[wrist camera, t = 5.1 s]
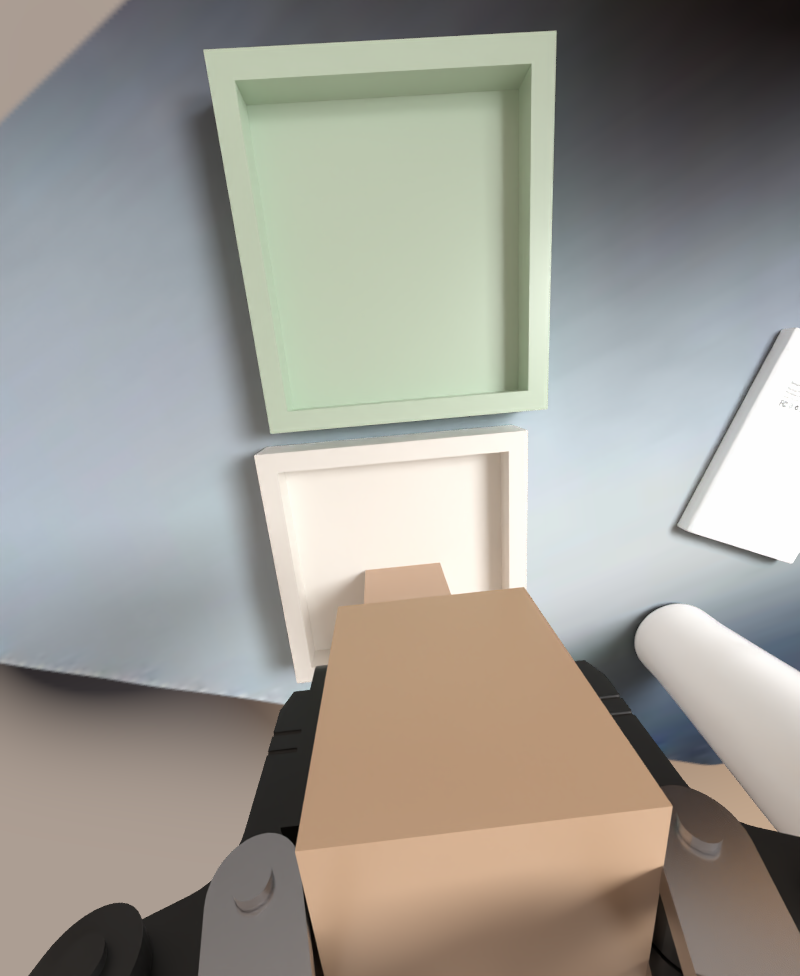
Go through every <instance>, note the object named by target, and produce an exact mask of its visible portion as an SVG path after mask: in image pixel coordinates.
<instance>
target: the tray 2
mask: <svg viewBox="0 0 800 976" xmlns="http://www.w3.org/2000/svg"><path fill="white" fill-rule="evenodd" d="M254 459H255V464H256V469H257V474H258V480H259V485H260V490H261V495H262V501H263V506H264V511H265V517H266V522H267V527H268V532H269V538H270V543H271V548H272V553H273V559H274V564H275V569H276V575H277V580H278V585H279V590H280V596H281V601H282V606H283V611H284V617H285V622H286V627H287V632H288V638H289V643H290V648H291V654H292V659H293V664H294V669H295V675H296V680H297V683H304V682H312V679H313V675H314V670H315V667H316V666H321V665H328V661H329V655H330V650H331V644H332V638H333V633H334V627H335V621H336V616H337V610H338V606H348V605H358V604H364V589H365V570H372V569H381V568H391V567H401V566H411V565H420V564H430V563H440V564H441V567H442V570H443V573H444V576H445V579H446V581H447V584H448V587H449V590H450V593H451V595H453V594H462V593H472V592H481V591H491V590H500V589H510V588H519V587H524V588H525V589H526V576H527V478H528V430H525V429H522V428H520V427H517V426H514V425H503V426H491V427H480V428H469V429H458V430H447V431H436V432H425V433H414V434H403V435H392V436H381V437H370V438H359V439H348V440H337V441H326V442H315V443H304V444H293V445H282V446H271V447H266V448H265V449H263V450H262V451H260V452H259V453H257V454H256V455H254Z"/></svg>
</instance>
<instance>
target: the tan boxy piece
mask: <svg viewBox="0 0 800 976" xmlns="http://www.w3.org/2000/svg"><path fill="white" fill-rule="evenodd" d="M672 808H673V806H672V804H671V803H670V801H669V800H668V798H667V797H666V796H665V794H664V793H663V791H662V790H661V788H660V787H659V785H658V784H657V782H656V781H655V779H654V778H653V776H652V775H651V773H650V772H649V770H648V769H647V768H646V766H645V765H644V763H643V762H642V760H641V759H640V757H639V756H638V754H637V753H636V751H635V750H634V748H633V747H632V745H631V744H630V743H629V741H628V740H627V738H626V737H625V735H624V734H623V732H622V731H621V729H620V728H619V726H618V725H617V723H616V722H615V720H614V719H613V717H612V716H611V715H610V713H609V712H608V710H607V709H606V707H605V706H604V704H603V703H602V701H601V700H600V698H599V697H598V695H597V694H596V692H595V691H594V689H593V688H592V687H591V685H590V684H589V682H588V681H587V679H586V678H585V676H584V675H583V673H582V672H581V670H580V669H579V667H578V666H577V664H576V663H575V661H574V660H573V659H572V657H571V656H570V654H569V653H568V651H567V650H566V648H565V647H564V645H563V644H562V642H561V641H560V639H559V638H558V636H557V635H556V634H555V632H554V631H553V629H552V628H551V626H550V625H549V623H548V622H547V620H546V619H545V617H544V616H543V614H542V613H541V611H540V610H539V608H538V607H537V606H536V604H535V603H534V601H533V600H532V598H531V597H530V595H529V594H528V592H527V591H526V589H525V588H524V587H519V588H510V589H500V590H491V591H481V592H472V593H462V594H453V595H443V596H434V597H424V598H415V599H405V600H396V601H386V602H377V603H367V604H358V605H348V606H338V610H337V616H336V621H335V627H334V633H333V638H332V644H331V650H330V655H329V661H328V667H327V672H326V678H325V684H324V689H323V695H322V701H321V706H320V712H319V718H318V723H317V729H316V735H315V740H314V746H313V752H312V757H311V763H310V769H309V774H308V780H307V786H306V791H305V797H304V803H303V809H302V814H301V820H300V826H299V831H298V837H297V843H296V848H295V854H296V859H297V863H298V867H299V871H300V875H301V880H302V884H303V888H304V892H305V897H306V901H307V905H308V909H309V914H310V918H311V922H312V926H313V931H314V935H315V939H316V943H317V948H318V952H319V956H320V960H321V965H322V969H323V973H324V976H646V970H647V964H648V960H649V958H650V951H651V945H652V938H653V932H654V925H655V919H656V912H657V906H658V899H659V893H660V892H659V885H660V878H661V872H662V866H664V860H665V854H666V847H667V841H668V834H669V828H670V821H671V815H672Z"/></svg>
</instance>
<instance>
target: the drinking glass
mask: <svg viewBox="0 0 800 976" xmlns="http://www.w3.org/2000/svg"><path fill="white" fill-rule="evenodd" d="M634 644H635V650H636V653H637V656H638V658H639V659H640V661H641V662H642V663H643V664H644V666H645V667H646V668H647V669H648V670H649V671H650V672H651V673H652V674H653V675H654V676H655V677H656V679H657V680H658V681H659V682H660V683H661V685H662V686H663V687H664V688H665V690H666V691H667V692H668V693H669V695H670V696H671V697H672V698H673V700H674V701H675V702H676V703H677V705H678V706H679V707H680V708H681V710H682V711H683V712H684V713H685V715H686V716H687V717H688V718H689V720H690V721H691V722H692V724H693V725H694V726H695V727H696V729H697V730H698V731H699V732H700V734H701V735H702V736H703V738H704V739H705V740H706V741H707V743H708V744H709V745H710V746H711V748H712V749H713V750H714V752H715V753H716V754H717V755H718V757H719V758H720V759H721V760H722V762H723V763H724V764H725V766H726V767H727V768H728V769H729V771H730V772H731V773H732V775H733V776H734V777H735V778H736V780H737V781H738V782H739V783H740V785H741V786H742V787H743V789H744V790H745V791H746V792H747V794H748V795H749V796H750V798H751V799H752V800H753V801H754V803H755V804H756V805H757V806H758V808H759V809H760V810H761V811H762V813H763V814H764V815H765V816H766V818H767V819H768V820H769V821H770V823H771V824H772V825H773V826H774V828H775V829H776V830H777V831H778V832H781V833H785V834H790V835H794V836H799V837H800V671H798V670H796V669H795V668H793V667H791V666H790V665H788V664H786V663H785V662H783V661H781V660H780V659H778V658H776V657H775V656H773V655H771V654H770V653H768V652H766V651H765V650H763V649H761V648H760V647H758V646H757V645H755V644H753V643H752V642H750V641H748V640H747V639H745V638H743V637H742V636H740V635H738V634H737V633H735V632H734V631H732V630H730V629H729V628H727V627H726V626H724V625H722V624H721V623H719V622H718V621H717V620H715V619H714V618H712V617H711V616H710V615H708V614H707V613H705V612H704V611H702V610H701V609H699V608H697V607H695V606H692V605H688V604H670V605H666V606H663V607H660V608H658V609H656V610H655V611H653V612H652V613H650V614H649V615H648V616H647V617H646V618H645V619H644V620H643V621H642V622H641V624H640V625H639V627H638V629H637V632H636V635H635V641H634Z"/></svg>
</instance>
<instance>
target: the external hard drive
mask: <svg viewBox="0 0 800 976" xmlns="http://www.w3.org/2000/svg"><path fill="white" fill-rule="evenodd" d="M677 527H680V528H682V529H683V530H685V531H688V532H691V533H694V534H697V535H700V536H703V537H707V538H710V539H713V540H716V541H719V542H723V543H726V544H729V545H732V546H736V547H739V548H742V549H745V550H749V551H751V552H755V553H758V554H761V555H764V556H767V557H771V558H774V559H777V560H780V561H783V562H787V563H790V564H792V563H793V562H794V560H795V558H796V557H797V555H798V554H799V552H800V328H789V329H782V330H781V332H780V334H779V336H778V337H777V339H776V341H775V343H774V345H773V347H772V349H771V351H770V352H769V354H768V356H767V358H766V360H765V361H764V363H763V365H762V367H761V369H760V371H759V373H758V374H757V376H756V378H755V380H754V382H753V384H752V386H751V388H750V389H749V391H748V393H747V395H746V397H745V399H744V401H743V402H742V404H741V406H740V408H739V410H738V412H737V414H736V415H735V417H734V419H733V421H732V423H731V425H730V427H729V429H728V430H727V432H726V434H725V436H724V438H723V440H722V442H721V444H720V445H719V447H718V449H717V451H716V453H715V455H714V457H713V459H712V460H711V462H710V464H709V466H708V468H707V470H706V472H705V474H704V475H703V477H702V479H701V481H700V483H699V485H698V487H697V489H696V490H695V492H694V494H693V496H692V498H691V500H690V502H689V504H688V505H687V507H686V509H685V511H684V513H683V515H682V517H681V519H680V521H679V522H678V524H677Z"/></svg>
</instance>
